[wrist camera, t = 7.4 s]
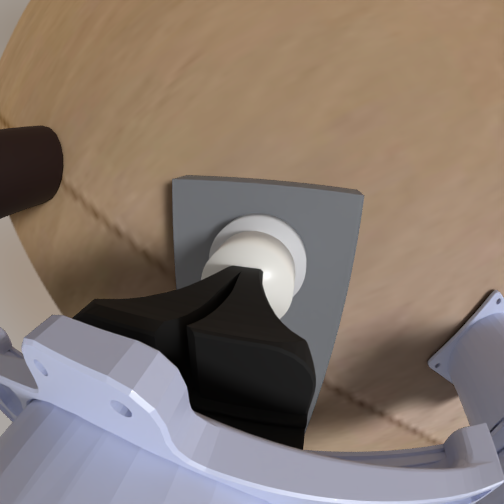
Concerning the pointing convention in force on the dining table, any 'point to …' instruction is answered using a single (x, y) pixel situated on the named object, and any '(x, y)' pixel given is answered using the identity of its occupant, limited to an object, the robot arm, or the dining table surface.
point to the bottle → (28, 167)
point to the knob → (259, 265)
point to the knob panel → (284, 229)
